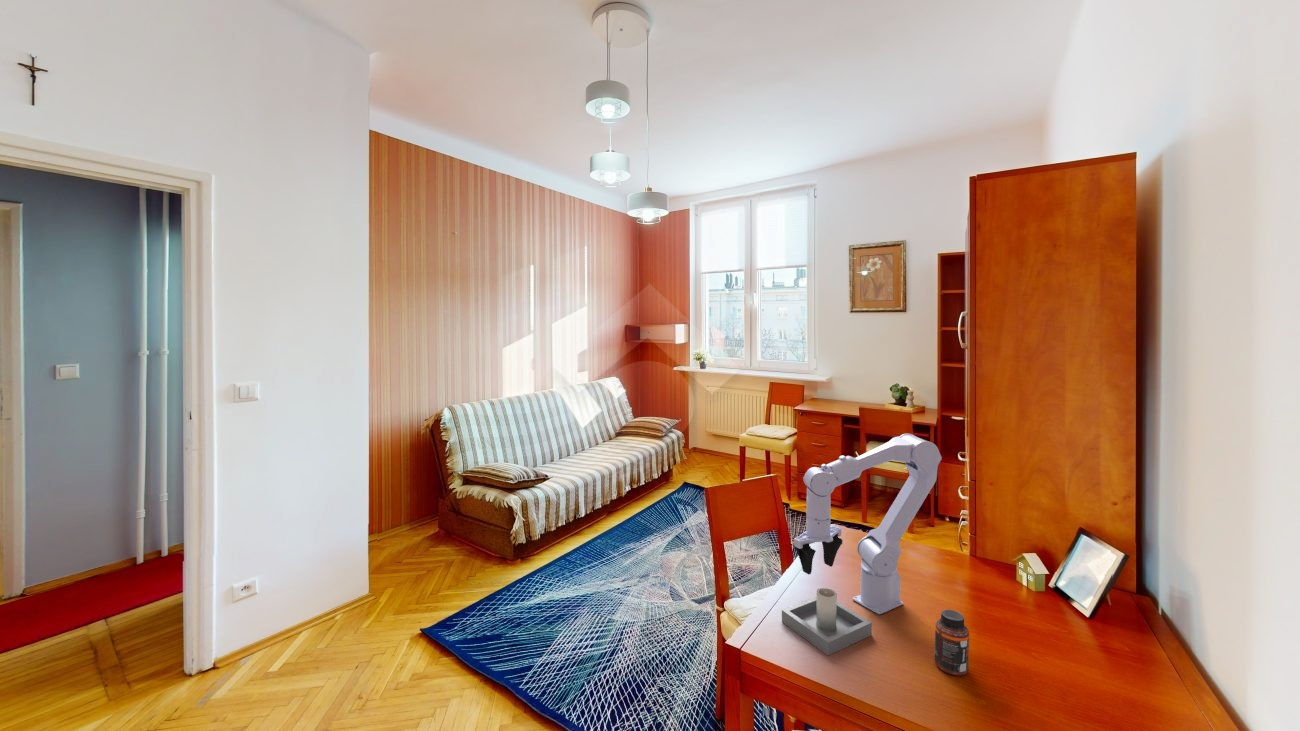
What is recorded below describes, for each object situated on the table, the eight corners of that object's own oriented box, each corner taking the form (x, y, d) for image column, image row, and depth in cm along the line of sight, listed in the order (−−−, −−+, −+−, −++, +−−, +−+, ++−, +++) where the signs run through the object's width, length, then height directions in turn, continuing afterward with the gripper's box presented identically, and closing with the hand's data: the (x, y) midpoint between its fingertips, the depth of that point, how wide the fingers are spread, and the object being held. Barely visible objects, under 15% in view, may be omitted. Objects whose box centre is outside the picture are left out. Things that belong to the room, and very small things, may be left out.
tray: (823, 605, 125) (823, 593, 125) (871, 635, 113) (871, 622, 112) (781, 621, 118) (781, 609, 118) (828, 655, 106) (828, 642, 106)
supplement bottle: (973, 679, 98) (975, 625, 97) (940, 675, 99) (942, 621, 98) (960, 659, 104) (962, 607, 103) (930, 655, 105) (931, 605, 104)
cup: (824, 617, 118) (825, 585, 117) (840, 627, 114) (840, 593, 114) (812, 623, 116) (812, 591, 115) (827, 633, 112) (828, 599, 111)
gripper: (809, 528, 116) (808, 583, 117) (851, 515, 123) (850, 568, 124) (787, 518, 123) (787, 570, 124) (829, 506, 129) (828, 556, 131)
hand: (817, 568), depth 124 cm, fingers open, 7 cm apart
